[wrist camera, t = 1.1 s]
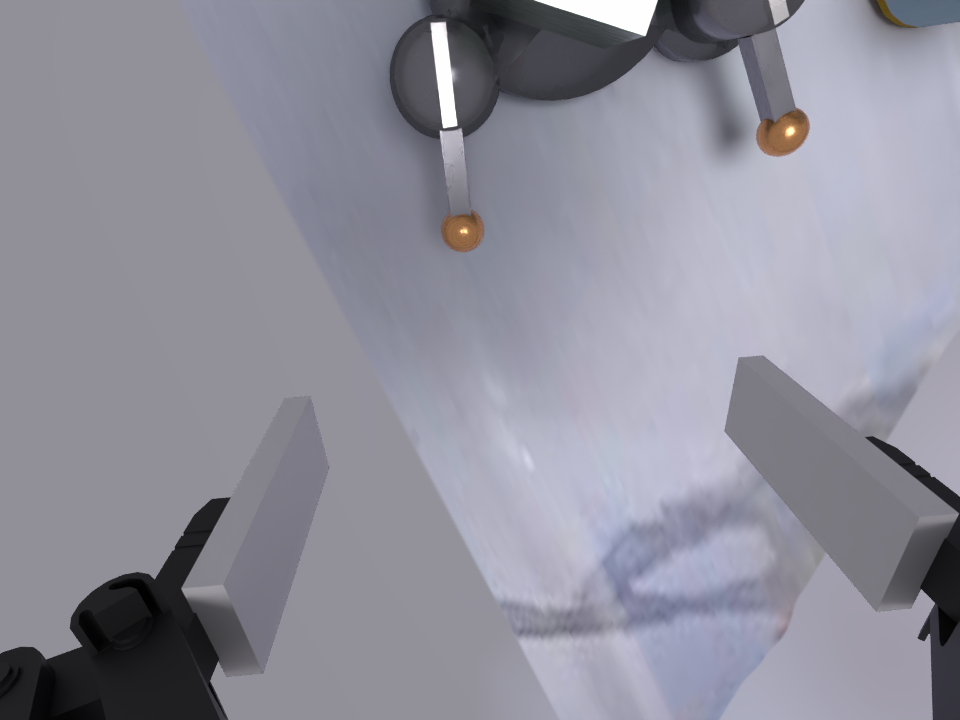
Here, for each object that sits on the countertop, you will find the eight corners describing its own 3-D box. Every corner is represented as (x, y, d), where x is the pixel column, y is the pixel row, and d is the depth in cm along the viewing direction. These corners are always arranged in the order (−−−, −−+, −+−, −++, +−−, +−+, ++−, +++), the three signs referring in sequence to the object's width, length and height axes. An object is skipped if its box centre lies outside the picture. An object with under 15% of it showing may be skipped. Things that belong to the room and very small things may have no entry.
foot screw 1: (396, 36, 28) (385, 23, 23) (482, 26, 28) (488, 11, 23) (428, 243, 33) (424, 268, 29) (499, 234, 33) (508, 258, 29)
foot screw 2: (658, -27, 27) (703, -54, 22) (743, -85, 26) (809, -126, 21) (723, 169, 32) (772, 182, 27) (797, 126, 31) (861, 132, 26)
